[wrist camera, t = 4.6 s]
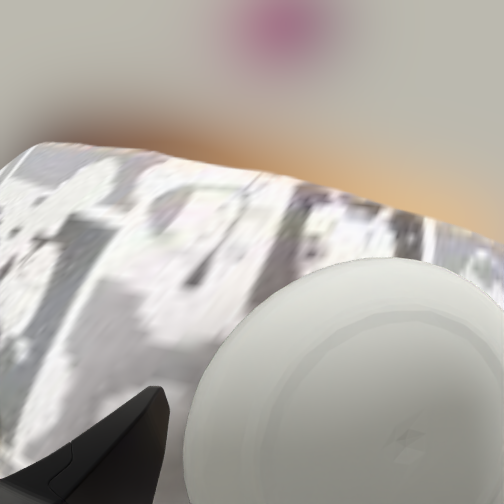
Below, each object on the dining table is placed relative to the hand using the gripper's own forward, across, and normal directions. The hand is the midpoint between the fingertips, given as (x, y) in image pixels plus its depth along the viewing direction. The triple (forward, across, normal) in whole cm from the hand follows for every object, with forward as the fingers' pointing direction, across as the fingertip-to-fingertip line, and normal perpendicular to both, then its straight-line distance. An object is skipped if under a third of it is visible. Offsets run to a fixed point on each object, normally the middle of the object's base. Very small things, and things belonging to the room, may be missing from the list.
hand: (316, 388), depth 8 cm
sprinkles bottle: (+4, 0, +6) cm, 8 cm away
